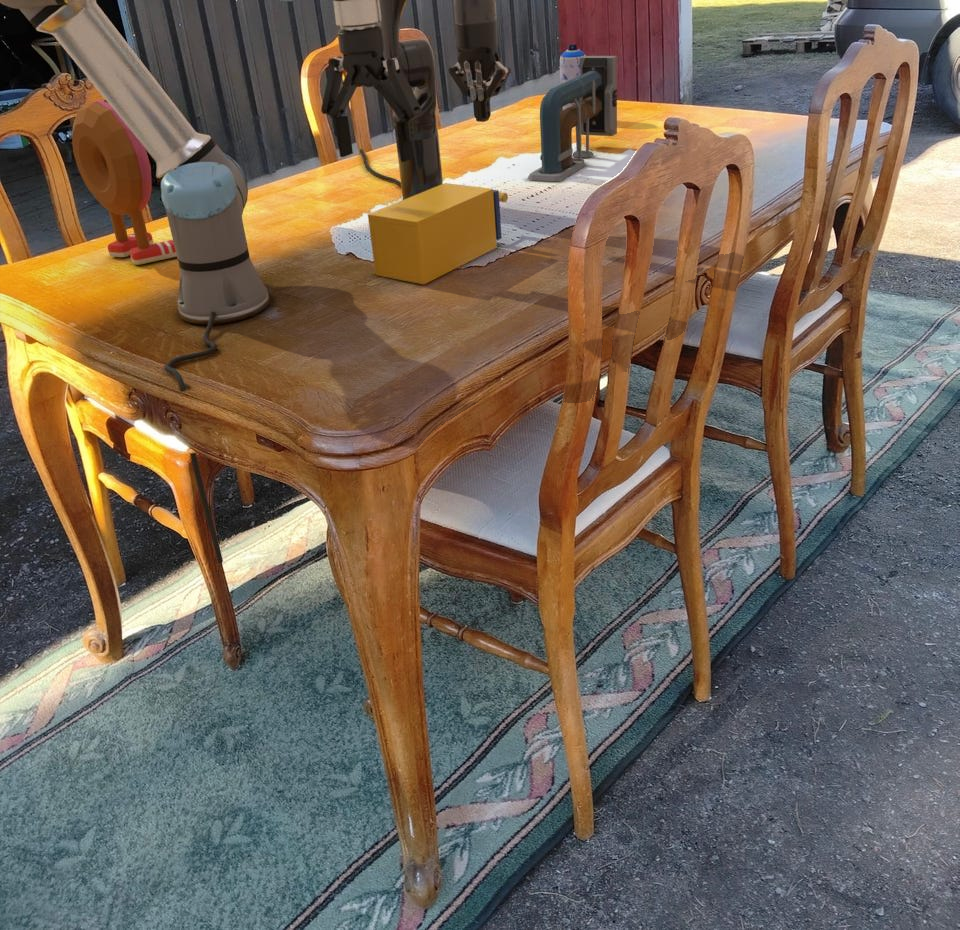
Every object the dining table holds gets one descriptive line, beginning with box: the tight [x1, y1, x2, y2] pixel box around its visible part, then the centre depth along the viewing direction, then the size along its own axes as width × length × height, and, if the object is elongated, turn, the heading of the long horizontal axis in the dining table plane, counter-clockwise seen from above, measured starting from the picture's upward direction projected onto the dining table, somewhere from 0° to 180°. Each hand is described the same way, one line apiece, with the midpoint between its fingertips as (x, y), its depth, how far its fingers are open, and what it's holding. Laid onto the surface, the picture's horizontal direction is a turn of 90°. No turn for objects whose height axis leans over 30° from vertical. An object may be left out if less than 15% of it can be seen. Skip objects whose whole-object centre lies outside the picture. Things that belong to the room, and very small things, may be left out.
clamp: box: [527, 55, 618, 182], centre depth 230 cm, size 35×9×21 cm, turn 151°
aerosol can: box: [559, 43, 587, 110], centre depth 273 cm, size 8×8×20 cm
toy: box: [71, 99, 177, 266], centre depth 188 cm, size 21×10×30 cm, turn 47°
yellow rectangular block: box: [367, 182, 498, 285], centre depth 177 cm, size 22×11×11 cm, turn 143°
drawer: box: [493, 189, 509, 241], centre depth 181 cm, size 27×10×9 cm, turn 143°
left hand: (376, 157), depth 170 cm, fingers open, 13 cm apart
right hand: (482, 120), depth 180 cm, fingers closed
